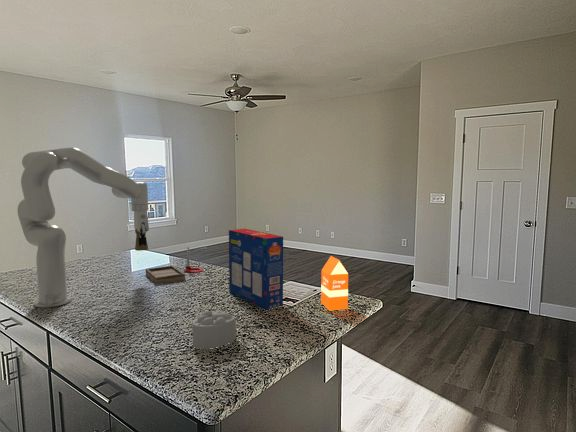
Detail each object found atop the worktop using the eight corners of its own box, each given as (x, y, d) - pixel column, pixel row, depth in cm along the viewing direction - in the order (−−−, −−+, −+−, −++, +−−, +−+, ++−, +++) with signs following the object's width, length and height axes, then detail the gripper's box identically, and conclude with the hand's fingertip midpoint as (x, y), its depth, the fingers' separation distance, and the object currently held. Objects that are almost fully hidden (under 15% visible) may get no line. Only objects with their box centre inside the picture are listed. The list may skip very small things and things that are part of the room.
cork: (144, 247, 184) (143, 225, 183) (150, 249, 180) (149, 226, 179) (132, 249, 179) (131, 227, 178) (139, 251, 176) (138, 228, 174)
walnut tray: (185, 280, 182) (184, 273, 181) (155, 284, 174) (155, 277, 174) (173, 271, 198) (172, 265, 198) (145, 275, 190) (145, 269, 190)
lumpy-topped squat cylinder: (240, 340, 115) (239, 313, 114) (204, 354, 106) (203, 325, 105) (220, 330, 122) (220, 305, 121) (185, 342, 113) (184, 315, 112)
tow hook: (205, 270, 203) (190, 268, 205) (206, 247, 201) (190, 245, 203) (198, 274, 194) (182, 272, 197) (198, 250, 193) (182, 248, 195)
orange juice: (328, 312, 139) (329, 260, 136) (320, 305, 147) (321, 255, 145) (348, 311, 141) (349, 259, 139) (338, 303, 149) (339, 254, 147)
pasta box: (282, 306, 145) (283, 236, 142) (266, 310, 140) (266, 238, 137) (244, 289, 167) (244, 228, 164) (229, 292, 162) (228, 230, 159)
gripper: (152, 208, 173) (154, 246, 175) (143, 206, 187) (145, 241, 189) (135, 209, 169) (137, 248, 171) (127, 206, 182) (129, 243, 184)
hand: (141, 244), depth 180 cm, fingers closed on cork, 4 cm apart
